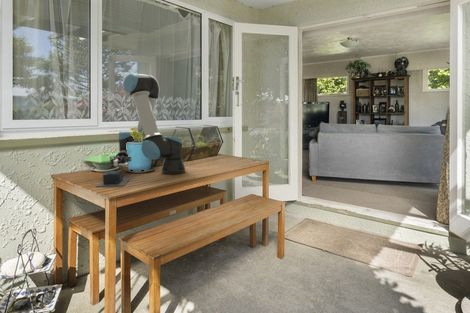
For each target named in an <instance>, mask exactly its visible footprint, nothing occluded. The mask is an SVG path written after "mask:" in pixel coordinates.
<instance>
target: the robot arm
mask: <svg viewBox="0 0 470 313" xmlns="http://www.w3.org/2000/svg"><path fill="white" fill-rule="evenodd" d="M123 89H124V91H125V93H127V94H129V96H130V98H131V99H132V100H133V101H134V105H135V107H136V111H137V114H138V117H139V120H138V122H137V123H138V124H137V128H136V131H137V130H138V132H141V131H142V130H143V132H144V135H145V137H144V139H143V141H144V142H143V143H142V144H141V152H142V154H143V156H144V157H145V158H146V159H147V160H148V159H149V160H158V159H163V162H162V166H161V174H164V175H179V174H180V175H181V174H184V173H186V167H185V164H184V162H183V141H182V138H181V137H179V136H165V135H163V134H161V133H160V132H159V130H158V126H157V122H156V118H155V115H154V111H155V110H154V109H155V105H156V101H157V100H159V97H160V85H159V82H158V80H157V78H155V77H154V76H152V75H150V74H142V73H141V74H140V73H137V72H134V73H133V72H131V73H128V74H126V75H125V77H124V80H123ZM131 134H132V133H131V132H130V131H129V130H126V131H125V130H124V131H123V130H122V131H119V132H118V144H119V145H118V146H119V147H118V148H119V152H117V153H116V155H115V156H114V157H112V156H110V157H109V161H110V163H111V164H112V165H113V167H117V166H119V165H123V164H126V163H129V162H132V157H128V154H127V150H126V143H127V142H132V141H134V139H133V137H132V136H131Z"/></svg>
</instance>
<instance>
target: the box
mask: <svg viewBox="0 0 470 313" xmlns="http://www.w3.org/2000/svg"><path fill="white" fill-rule="evenodd" d="M122 180H123V170H107V171H106V172H104V173H103V174H102V181H103V184H119V183H120V182H121V181H122Z"/></svg>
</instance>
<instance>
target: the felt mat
mask: <svg viewBox="0 0 470 313" xmlns="http://www.w3.org/2000/svg"><path fill="white" fill-rule="evenodd" d="M131 178H132V177H131V176H126V177H125V176H124V177H123V180H122V181H121V182H120V183H119V184H103V180H101V182H99V183H98V184H97V185H96V186H95V187H96V188H110V187H111V188H115V187H117V188H118V187H125V186H126V185H127V183H129V182H130V180H131Z"/></svg>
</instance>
